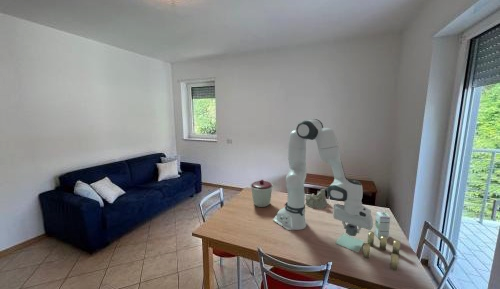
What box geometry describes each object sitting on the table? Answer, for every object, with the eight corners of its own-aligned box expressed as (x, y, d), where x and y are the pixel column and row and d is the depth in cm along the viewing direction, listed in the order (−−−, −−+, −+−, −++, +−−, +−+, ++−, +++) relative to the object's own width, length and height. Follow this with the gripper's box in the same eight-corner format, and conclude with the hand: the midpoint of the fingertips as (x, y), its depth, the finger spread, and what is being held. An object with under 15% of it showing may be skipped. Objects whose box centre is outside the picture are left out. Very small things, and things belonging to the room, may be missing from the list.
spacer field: (360, 256, 110) (361, 244, 109) (368, 241, 121) (369, 230, 120) (396, 271, 99) (398, 258, 98) (401, 254, 111) (403, 242, 109)
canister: (269, 211, 159) (269, 184, 156) (247, 207, 166) (246, 182, 162) (275, 201, 176) (275, 177, 172) (255, 198, 183) (254, 175, 179)
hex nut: (354, 237, 116) (354, 229, 115) (345, 233, 119) (345, 226, 118) (357, 232, 120) (358, 225, 119) (348, 229, 123) (348, 222, 122)
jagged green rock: (329, 202, 172) (328, 185, 169) (322, 211, 159) (321, 192, 157) (311, 198, 181) (310, 182, 179) (303, 206, 169) (302, 189, 166)
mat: (335, 243, 120) (335, 242, 120) (342, 234, 129) (342, 233, 129) (358, 253, 112) (358, 252, 112) (364, 242, 121) (364, 241, 121)
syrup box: (388, 239, 123) (391, 216, 121) (377, 238, 124) (380, 216, 122) (384, 233, 129) (386, 212, 126) (374, 232, 130) (376, 211, 127)
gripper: (331, 204, 121) (331, 226, 124) (371, 215, 108) (369, 240, 110) (336, 200, 126) (335, 222, 128) (374, 211, 112) (372, 234, 115)
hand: (351, 230), depth 119 cm, fingers closed on hex nut, 5 cm apart
